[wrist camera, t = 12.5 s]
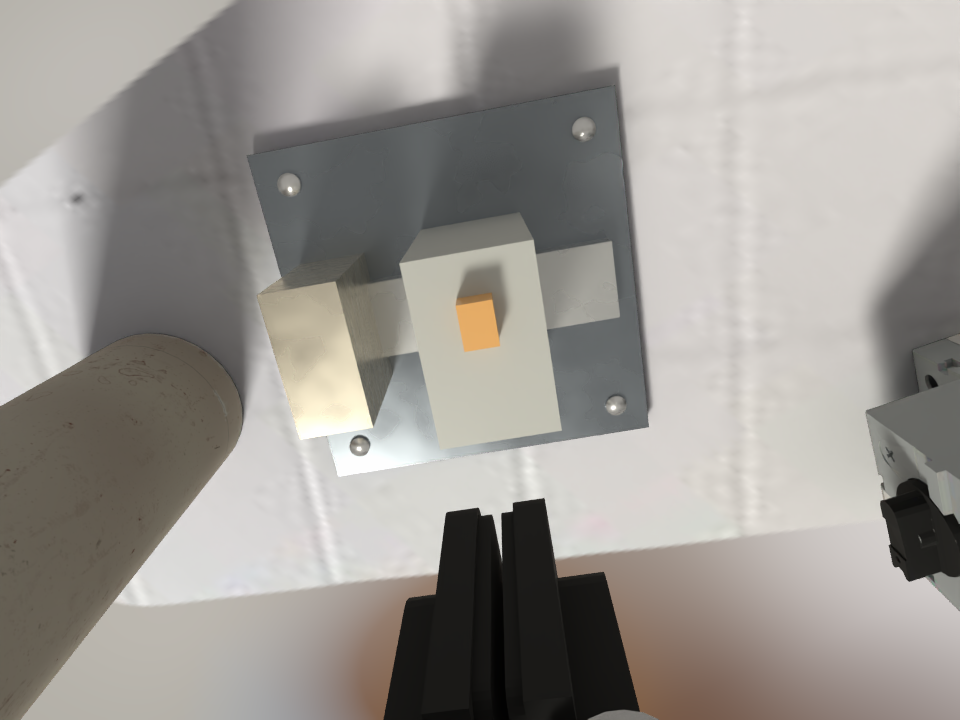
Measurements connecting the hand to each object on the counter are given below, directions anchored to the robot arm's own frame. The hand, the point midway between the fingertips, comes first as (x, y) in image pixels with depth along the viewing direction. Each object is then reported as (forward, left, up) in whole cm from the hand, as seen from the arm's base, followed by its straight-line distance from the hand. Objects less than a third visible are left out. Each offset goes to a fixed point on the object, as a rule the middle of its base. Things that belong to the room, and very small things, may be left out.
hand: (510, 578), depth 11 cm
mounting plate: (+1, 0, -21) cm, 21 cm away
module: (0, 0, -20) cm, 20 cm away
